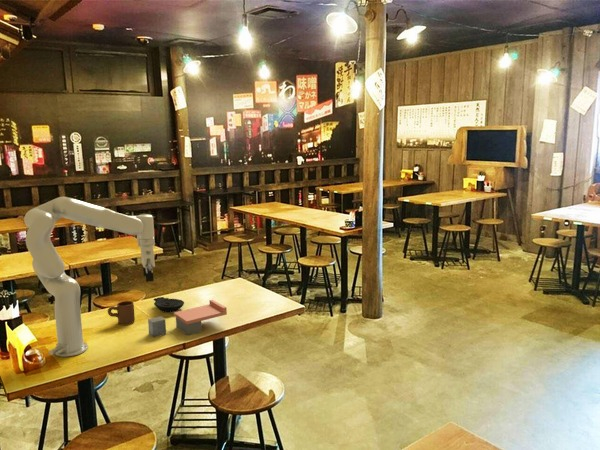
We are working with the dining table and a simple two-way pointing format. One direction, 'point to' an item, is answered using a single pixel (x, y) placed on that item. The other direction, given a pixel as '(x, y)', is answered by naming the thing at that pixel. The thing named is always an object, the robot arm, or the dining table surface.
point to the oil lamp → (168, 304)
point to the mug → (123, 312)
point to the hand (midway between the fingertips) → (148, 278)
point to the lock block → (157, 326)
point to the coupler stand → (198, 316)
